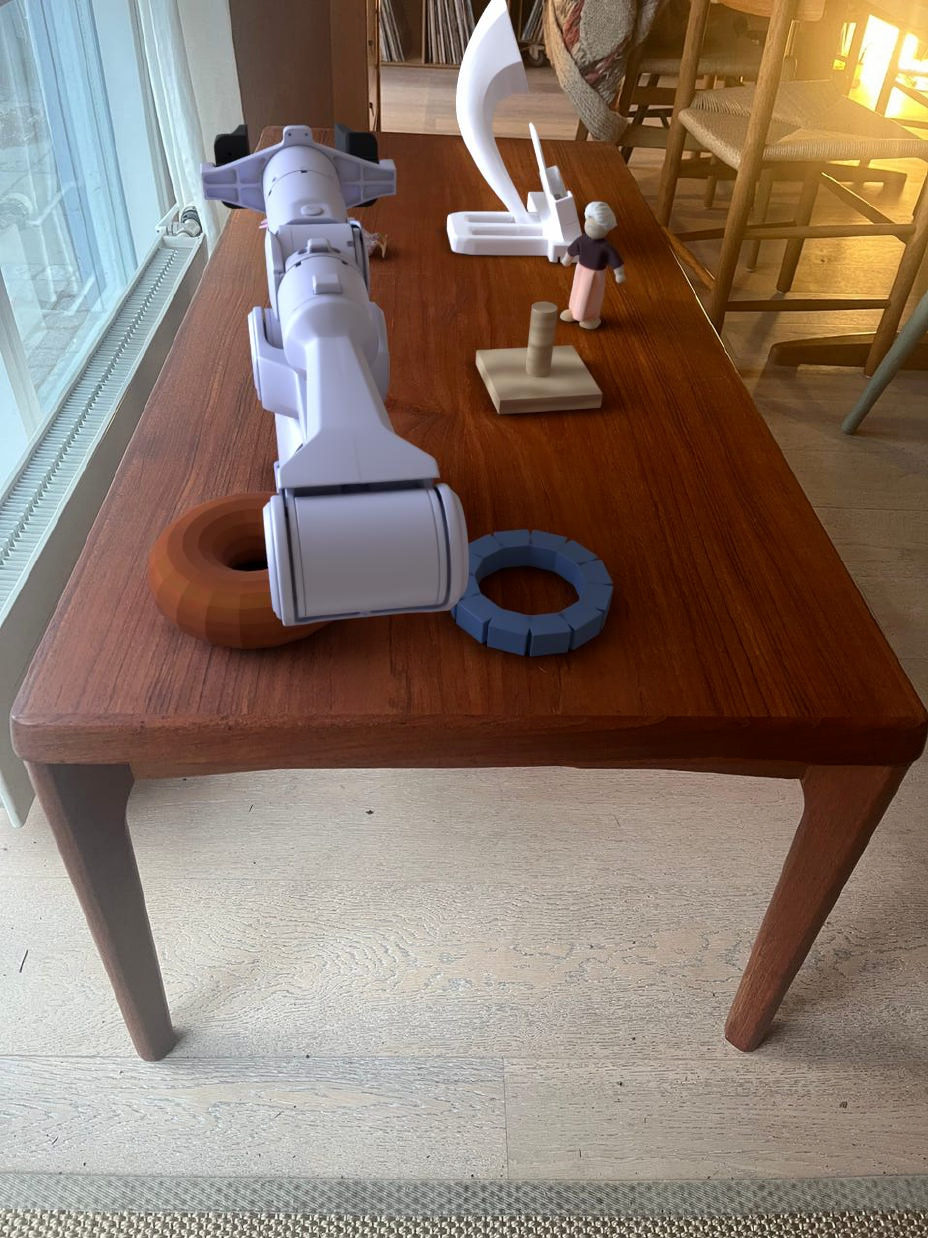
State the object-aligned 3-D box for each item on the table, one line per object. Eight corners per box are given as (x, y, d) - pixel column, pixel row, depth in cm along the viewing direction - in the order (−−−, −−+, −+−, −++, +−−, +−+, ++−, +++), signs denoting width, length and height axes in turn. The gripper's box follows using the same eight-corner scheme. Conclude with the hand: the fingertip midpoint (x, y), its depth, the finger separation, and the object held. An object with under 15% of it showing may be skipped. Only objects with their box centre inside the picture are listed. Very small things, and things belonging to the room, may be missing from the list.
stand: (600, 407, 92) (613, 328, 87) (498, 414, 91) (505, 333, 85) (570, 358, 100) (580, 282, 94) (475, 363, 98) (480, 286, 93)
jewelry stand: (581, 262, 118) (612, 26, 102) (454, 262, 117) (464, 22, 100) (547, 191, 137) (568, -18, 120) (436, 190, 135) (442, -23, 118)
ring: (629, 645, 68) (634, 624, 67) (466, 664, 66) (467, 642, 65) (580, 544, 76) (583, 523, 75) (434, 557, 74) (435, 536, 73)
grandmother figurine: (545, 319, 106) (559, 199, 98) (559, 307, 109) (574, 189, 100) (611, 337, 104) (631, 216, 95) (624, 324, 106) (644, 204, 98)
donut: (390, 555, 74) (390, 501, 71) (313, 687, 64) (309, 631, 60) (213, 514, 77) (205, 460, 74) (111, 635, 66) (95, 578, 63)
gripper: (406, 151, 69) (380, 83, 78) (195, 154, 66) (193, 83, 75) (404, 247, 74) (380, 172, 83) (208, 253, 71) (205, 176, 81)
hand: (291, 136), depth 80 cm, fingers open, 7 cm apart
